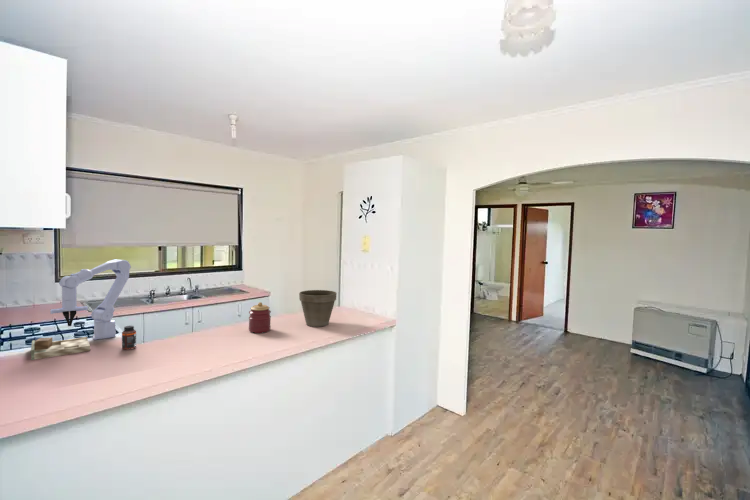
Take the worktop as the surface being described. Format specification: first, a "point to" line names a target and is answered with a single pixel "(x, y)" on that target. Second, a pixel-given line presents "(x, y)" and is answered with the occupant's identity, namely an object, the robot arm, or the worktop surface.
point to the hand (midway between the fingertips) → (69, 325)
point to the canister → (259, 318)
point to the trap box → (61, 348)
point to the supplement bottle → (128, 338)
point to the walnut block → (43, 343)
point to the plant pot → (317, 306)
